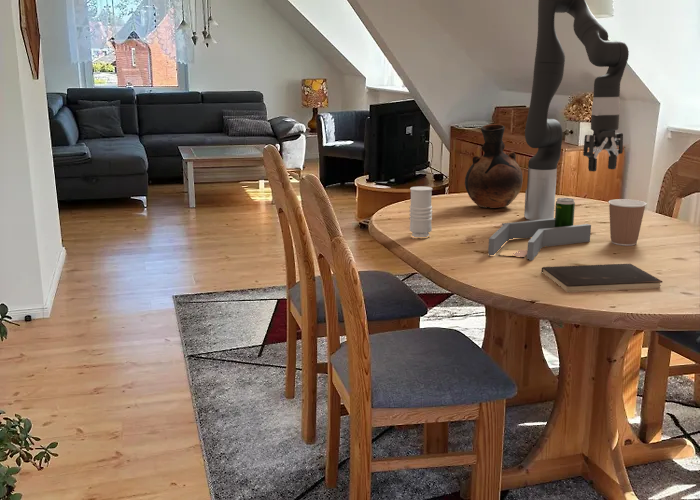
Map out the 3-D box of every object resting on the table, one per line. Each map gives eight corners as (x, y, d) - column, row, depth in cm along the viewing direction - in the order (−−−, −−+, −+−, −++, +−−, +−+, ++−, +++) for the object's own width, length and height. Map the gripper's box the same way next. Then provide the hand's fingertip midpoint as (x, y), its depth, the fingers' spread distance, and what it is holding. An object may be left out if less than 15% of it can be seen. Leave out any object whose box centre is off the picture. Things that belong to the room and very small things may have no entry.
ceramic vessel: (513, 202, 268) (517, 122, 260) (528, 211, 251) (533, 126, 243) (458, 203, 266) (460, 123, 258) (470, 213, 249) (473, 127, 241)
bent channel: (461, 244, 207) (462, 227, 206) (564, 232, 219) (565, 217, 218) (505, 263, 186) (506, 245, 185) (615, 250, 198) (617, 232, 197)
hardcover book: (661, 290, 165) (662, 281, 164) (566, 294, 163) (567, 285, 162) (628, 271, 180) (629, 262, 180) (541, 275, 178) (541, 266, 178)
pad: (504, 249, 200) (504, 248, 200) (529, 252, 197) (529, 250, 197) (498, 255, 194) (498, 254, 194) (524, 258, 191) (524, 256, 191)
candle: (434, 235, 218) (435, 187, 214) (427, 240, 212) (428, 190, 208) (413, 233, 221) (414, 185, 217) (405, 238, 215) (406, 189, 211)
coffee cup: (641, 239, 209) (645, 200, 206) (643, 248, 200) (647, 206, 197) (604, 237, 213) (608, 198, 210) (605, 245, 203) (608, 204, 200)
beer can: (564, 241, 208) (566, 201, 205) (549, 238, 213) (552, 198, 210) (576, 239, 211) (579, 199, 208) (561, 235, 216) (564, 196, 212)
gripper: (610, 112, 209) (607, 167, 212) (577, 113, 201) (575, 170, 205) (632, 112, 203) (629, 169, 206) (599, 114, 195) (596, 173, 199)
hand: (602, 170), depth 205 cm, fingers open, 8 cm apart
